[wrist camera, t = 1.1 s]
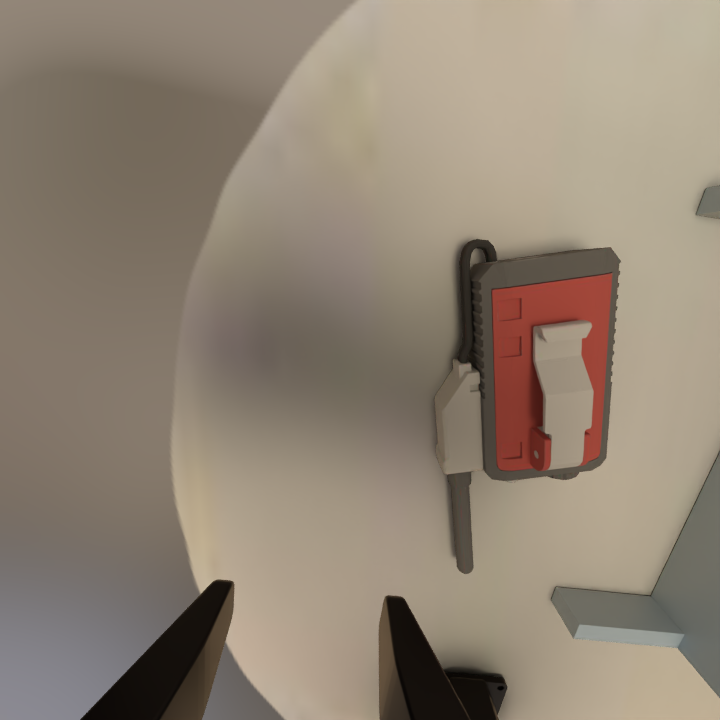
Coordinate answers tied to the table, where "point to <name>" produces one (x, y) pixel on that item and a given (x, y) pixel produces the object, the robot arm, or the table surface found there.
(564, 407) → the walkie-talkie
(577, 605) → the mounting bracket
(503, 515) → the table surface
